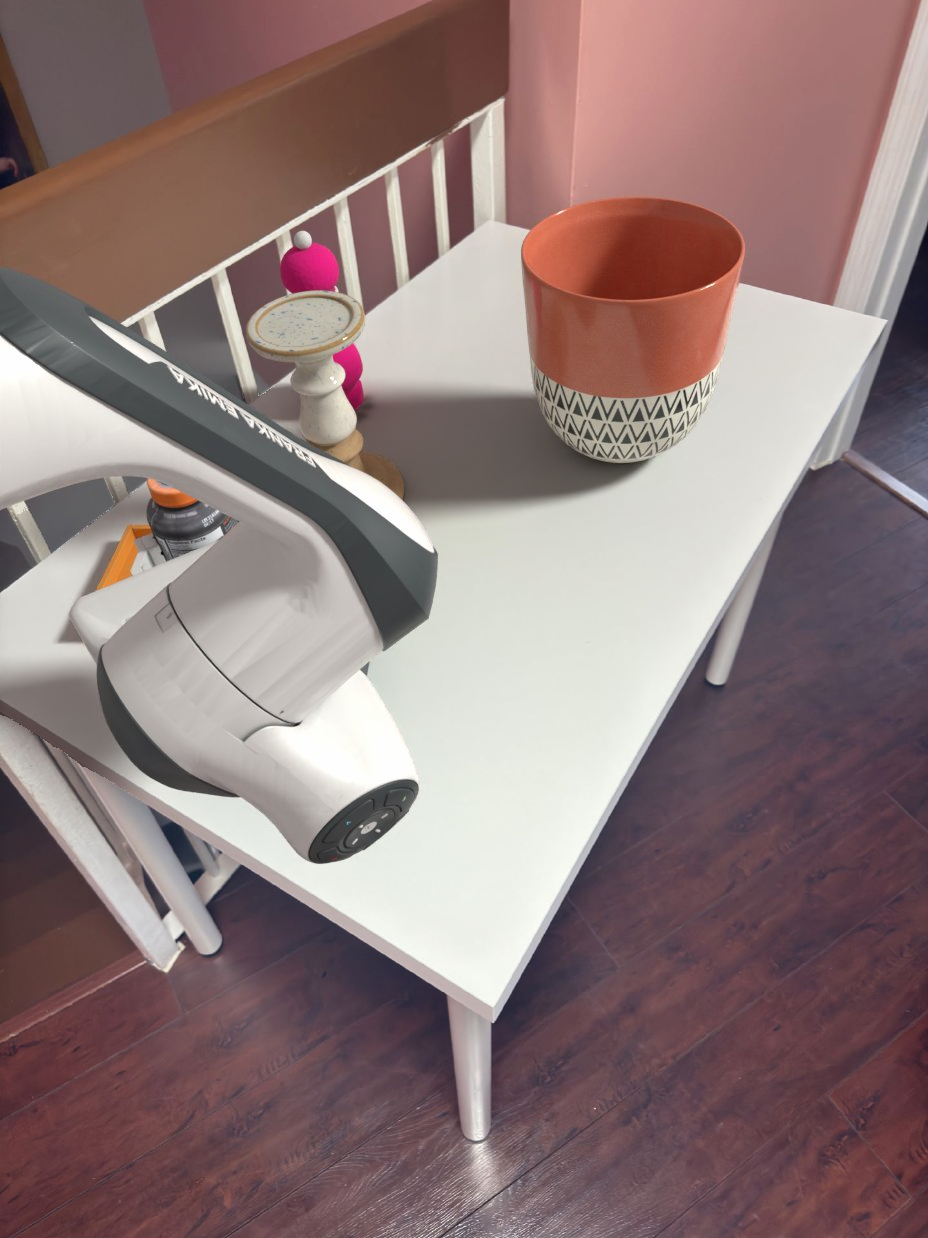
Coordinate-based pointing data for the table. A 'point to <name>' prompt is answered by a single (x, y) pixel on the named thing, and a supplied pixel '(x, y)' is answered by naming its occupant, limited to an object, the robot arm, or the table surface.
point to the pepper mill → (320, 271)
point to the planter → (628, 320)
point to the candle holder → (320, 371)
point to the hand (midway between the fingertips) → (193, 523)
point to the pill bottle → (183, 521)
